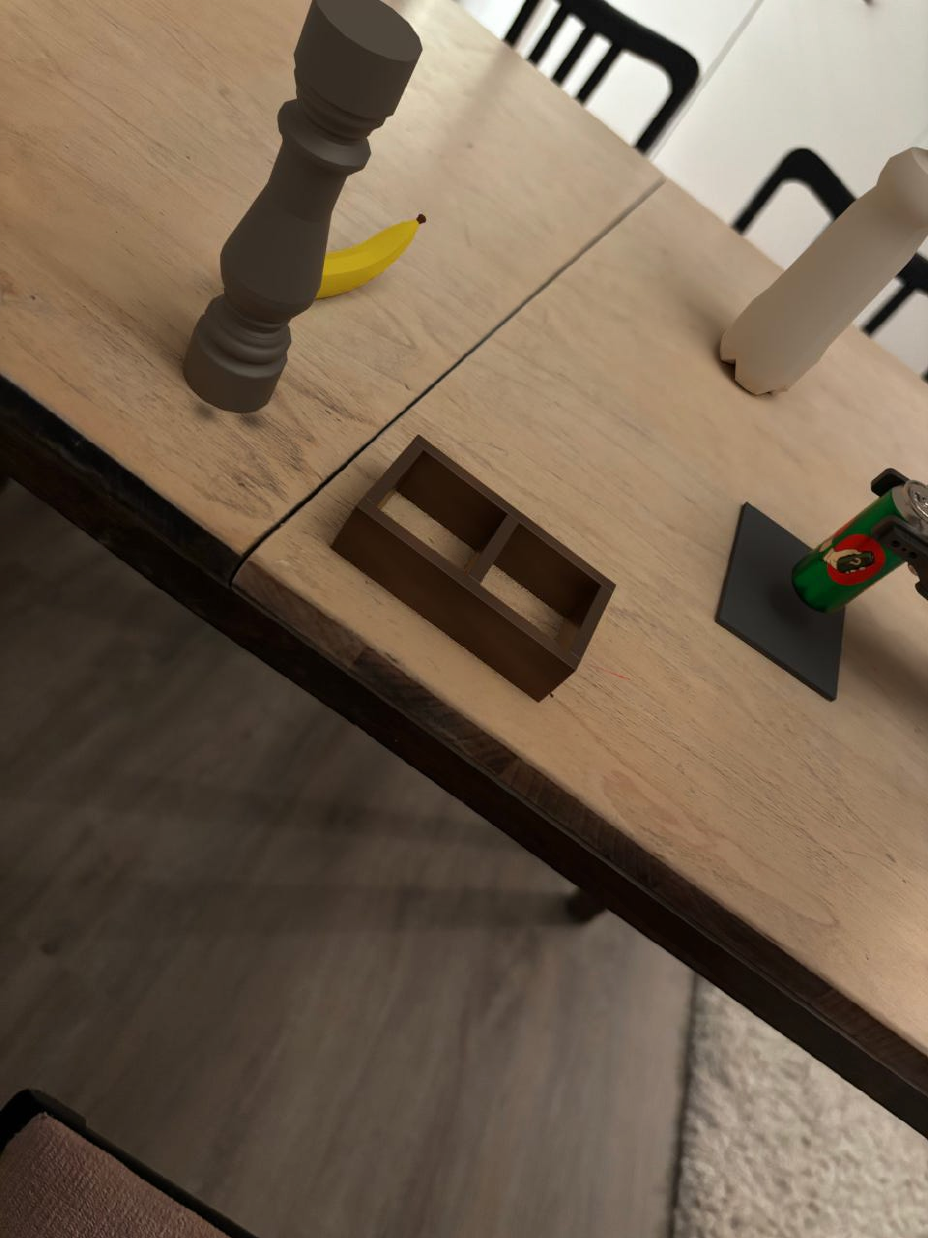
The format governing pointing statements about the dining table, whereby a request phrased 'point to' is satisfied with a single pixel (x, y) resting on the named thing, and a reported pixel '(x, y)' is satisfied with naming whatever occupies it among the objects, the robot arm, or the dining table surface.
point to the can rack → (477, 569)
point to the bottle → (831, 280)
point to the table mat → (778, 604)
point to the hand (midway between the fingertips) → (880, 501)
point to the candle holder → (299, 197)
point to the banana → (366, 258)
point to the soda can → (858, 551)
